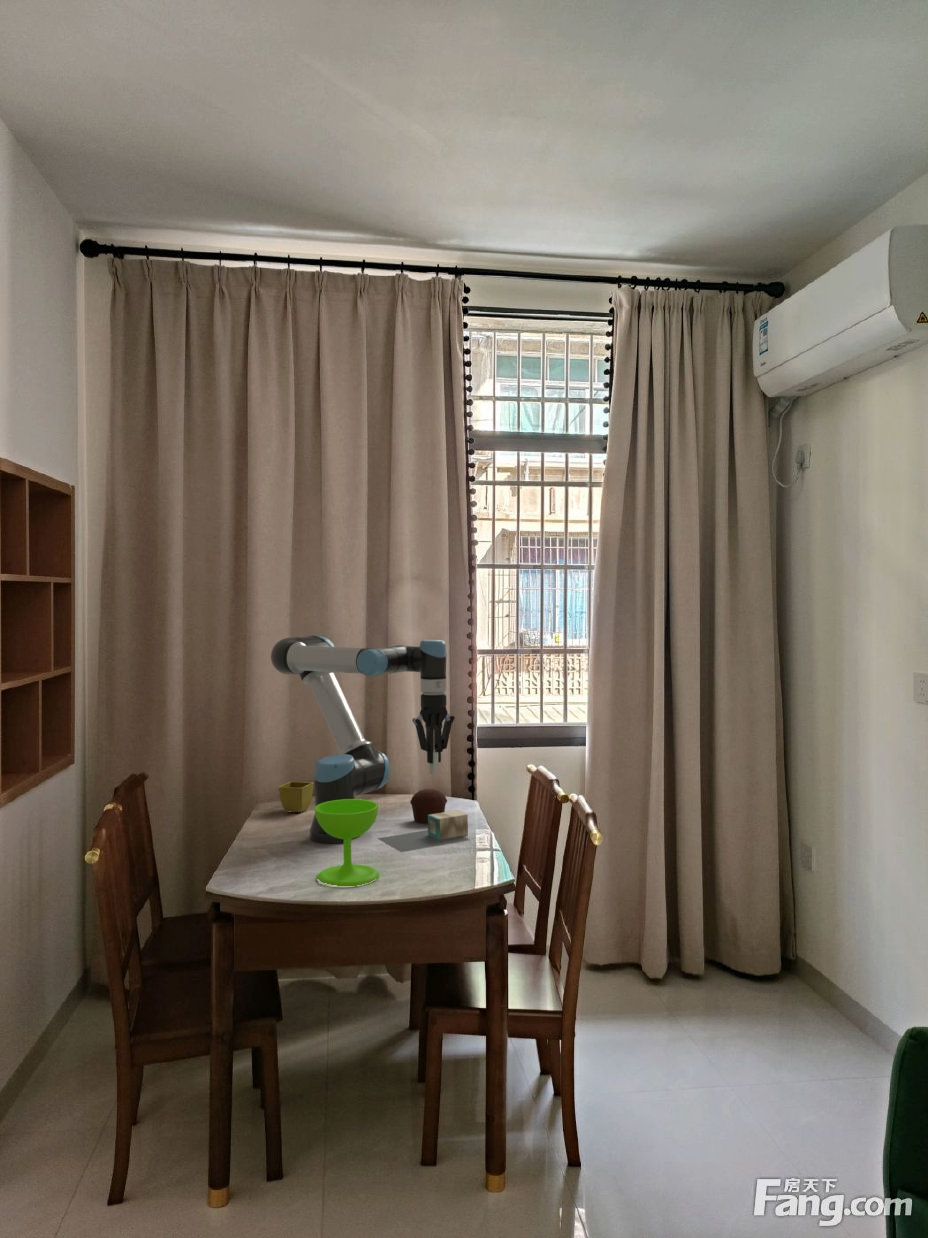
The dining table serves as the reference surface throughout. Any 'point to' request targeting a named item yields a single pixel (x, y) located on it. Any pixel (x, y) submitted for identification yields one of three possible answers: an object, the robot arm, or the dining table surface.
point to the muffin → (427, 804)
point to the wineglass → (347, 838)
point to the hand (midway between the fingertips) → (434, 774)
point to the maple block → (447, 824)
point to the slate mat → (418, 841)
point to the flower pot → (296, 796)
